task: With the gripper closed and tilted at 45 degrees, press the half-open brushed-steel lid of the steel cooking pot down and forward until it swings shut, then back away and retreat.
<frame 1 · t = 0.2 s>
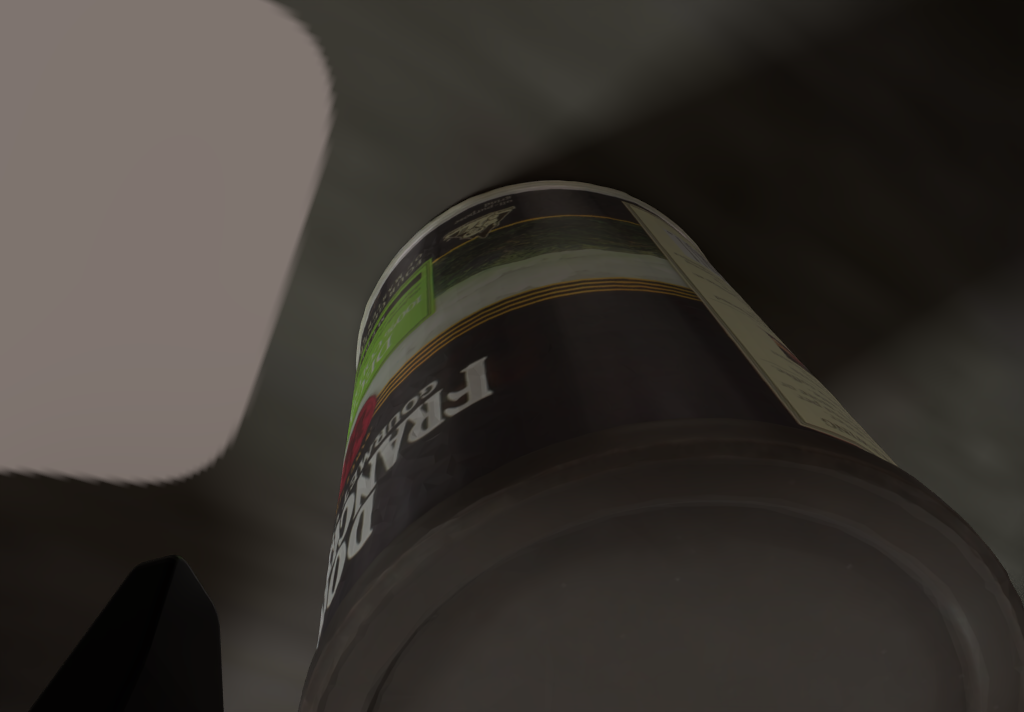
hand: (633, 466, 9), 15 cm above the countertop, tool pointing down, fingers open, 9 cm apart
coffee can: (546, 364, 26), on the countertop
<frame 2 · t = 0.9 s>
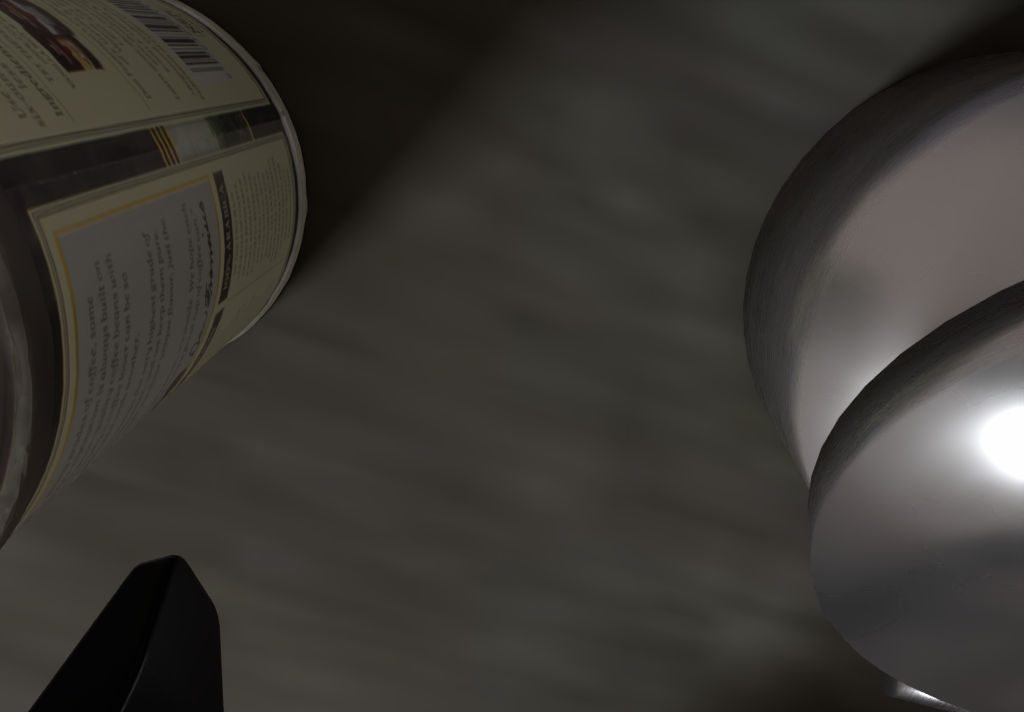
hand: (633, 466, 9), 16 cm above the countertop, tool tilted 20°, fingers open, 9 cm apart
cooker pot: (985, 302, 25), on the countertop
coffee can: (126, 185, 26), on the countertop
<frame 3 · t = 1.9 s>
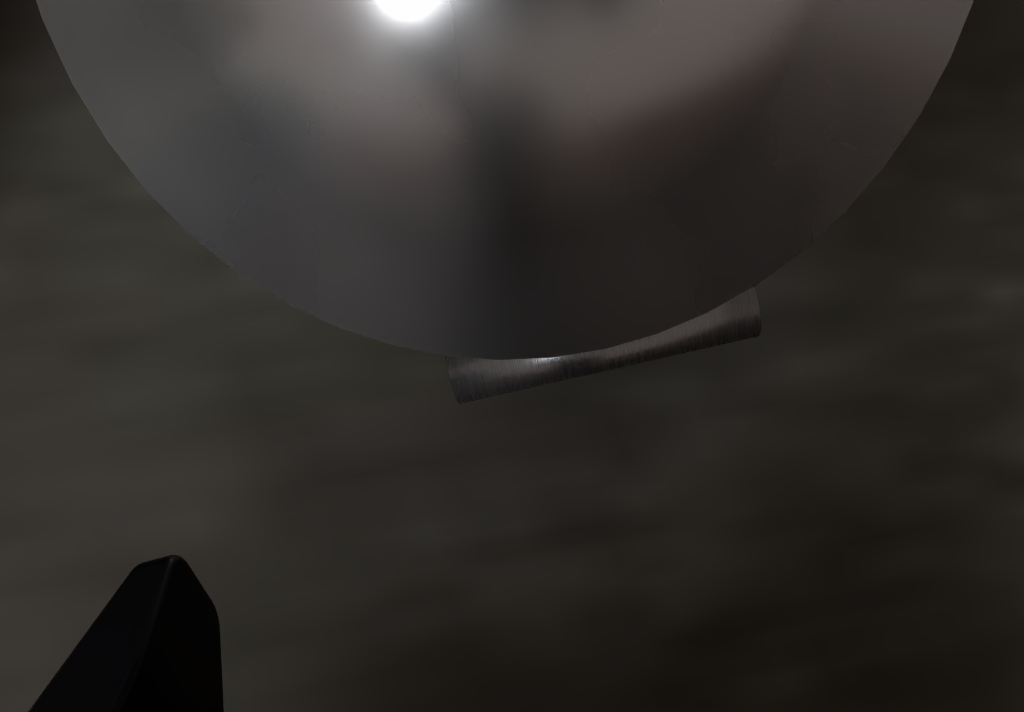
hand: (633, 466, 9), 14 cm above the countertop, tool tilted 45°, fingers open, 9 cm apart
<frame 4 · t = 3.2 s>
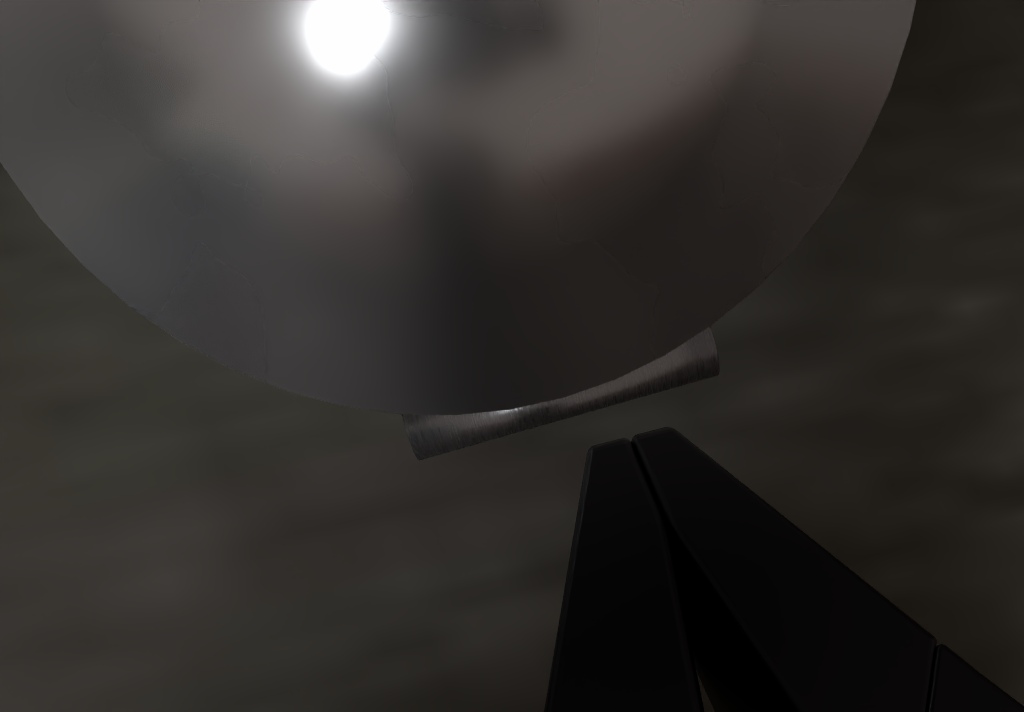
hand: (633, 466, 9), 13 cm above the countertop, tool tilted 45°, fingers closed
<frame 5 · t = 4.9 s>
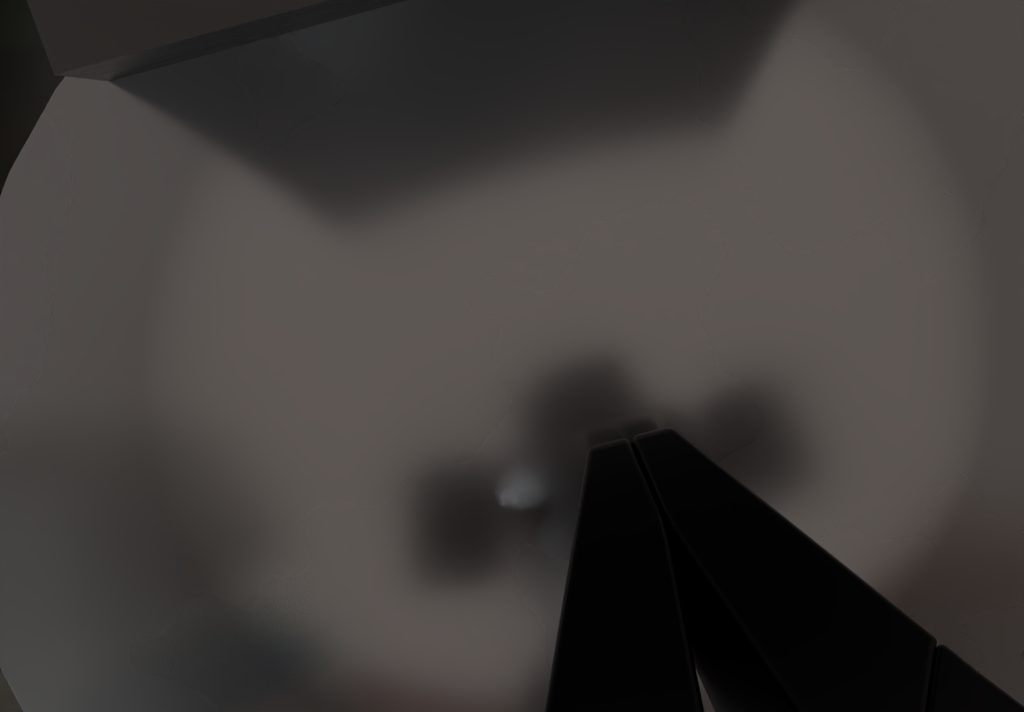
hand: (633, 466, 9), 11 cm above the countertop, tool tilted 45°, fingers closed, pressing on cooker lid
cooker lid: (634, 528, 10), point 10 cm above the countertop, hinge at 20.7°, touching gripper
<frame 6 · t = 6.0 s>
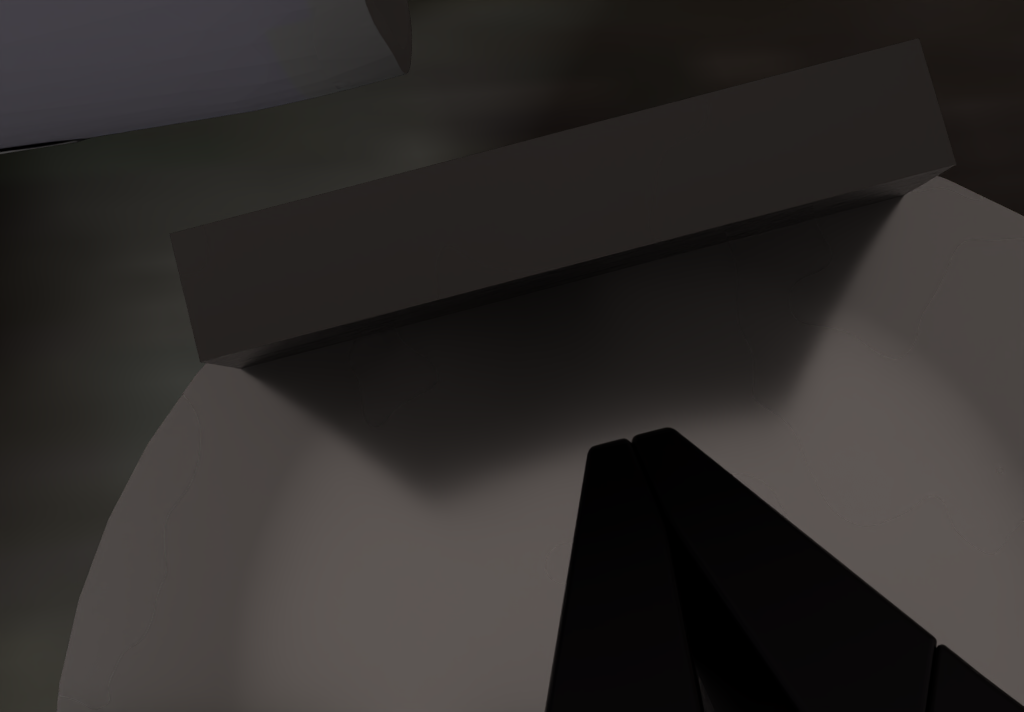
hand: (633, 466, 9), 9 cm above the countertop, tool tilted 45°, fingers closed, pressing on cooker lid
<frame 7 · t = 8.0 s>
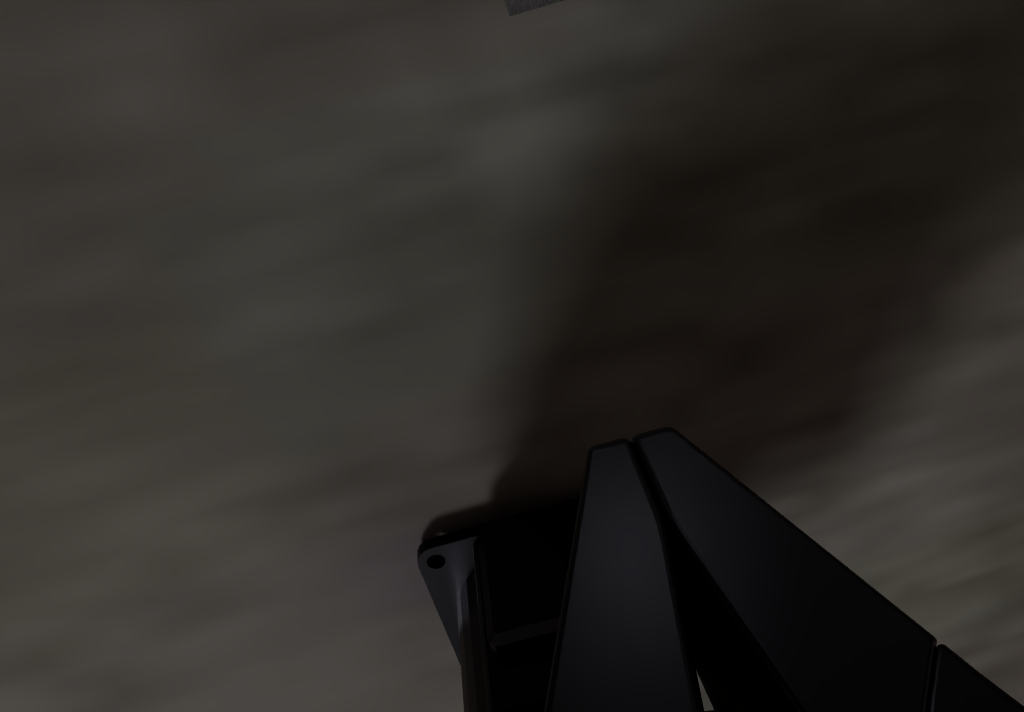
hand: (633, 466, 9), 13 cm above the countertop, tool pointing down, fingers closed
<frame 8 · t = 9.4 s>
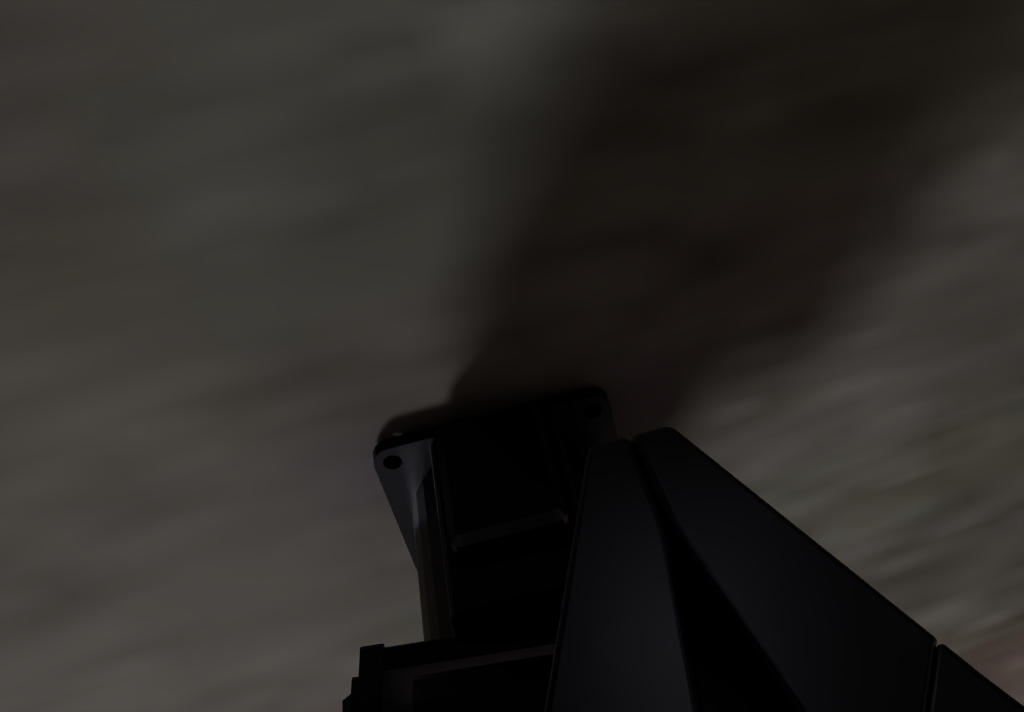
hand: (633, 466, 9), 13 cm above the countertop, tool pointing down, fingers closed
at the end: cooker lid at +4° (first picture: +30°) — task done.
